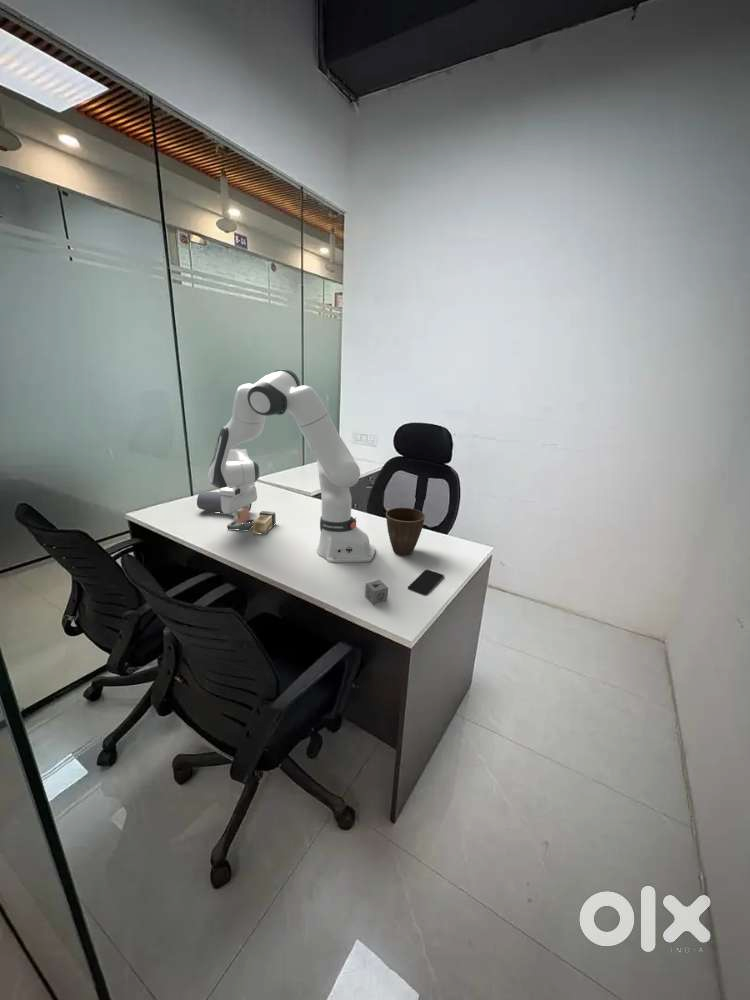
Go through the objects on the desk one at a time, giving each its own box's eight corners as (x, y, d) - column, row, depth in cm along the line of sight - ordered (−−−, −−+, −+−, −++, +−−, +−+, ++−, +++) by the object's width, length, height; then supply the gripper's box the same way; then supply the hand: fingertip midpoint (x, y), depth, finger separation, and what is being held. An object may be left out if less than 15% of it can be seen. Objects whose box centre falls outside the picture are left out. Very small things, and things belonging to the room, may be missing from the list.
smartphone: (406, 588, 119) (425, 568, 131) (405, 591, 120) (425, 571, 132) (426, 595, 116) (444, 575, 127) (426, 598, 116) (444, 577, 128)
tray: (256, 523, 163) (255, 519, 163) (248, 531, 155) (247, 527, 154) (236, 521, 164) (236, 518, 163) (227, 529, 155) (227, 525, 155)
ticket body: (275, 523, 164) (275, 511, 162) (266, 534, 152) (265, 521, 151) (261, 522, 164) (261, 510, 162) (251, 533, 153) (250, 520, 151)
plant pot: (389, 562, 136) (393, 522, 131) (378, 544, 149) (381, 508, 144) (426, 559, 140) (431, 520, 135) (413, 542, 153) (416, 506, 148)
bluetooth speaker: (252, 511, 177) (251, 491, 174) (244, 518, 168) (243, 498, 165) (207, 507, 178) (205, 488, 175) (197, 514, 170) (195, 493, 167)
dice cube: (364, 597, 114) (365, 583, 112) (378, 593, 116) (379, 579, 115) (373, 605, 110) (374, 591, 108) (387, 601, 112) (388, 587, 111)
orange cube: (241, 518, 161) (240, 507, 160) (249, 519, 160) (248, 508, 159) (234, 522, 157) (233, 511, 155) (242, 523, 156) (241, 512, 154)
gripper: (247, 479, 164) (249, 508, 168) (216, 491, 145) (219, 523, 149) (259, 480, 162) (261, 510, 167) (230, 493, 143) (233, 526, 148)
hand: (241, 516), depth 158 cm, fingers closed on orange cube, 5 cm apart
